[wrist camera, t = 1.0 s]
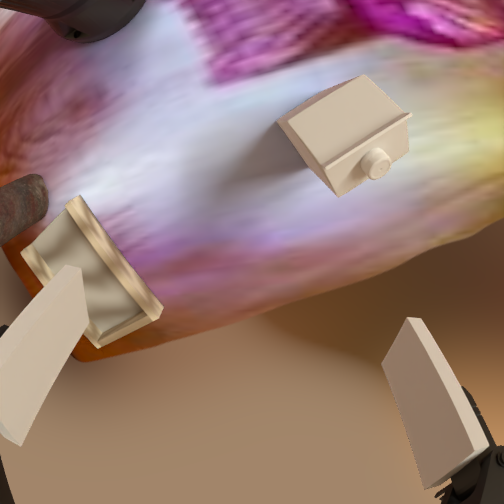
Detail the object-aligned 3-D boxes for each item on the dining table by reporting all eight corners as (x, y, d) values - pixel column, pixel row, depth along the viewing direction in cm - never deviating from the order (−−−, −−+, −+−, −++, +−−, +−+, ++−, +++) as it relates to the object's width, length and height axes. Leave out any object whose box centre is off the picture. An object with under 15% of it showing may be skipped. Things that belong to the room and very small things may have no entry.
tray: (30, 245, 42) (20, 253, 39) (80, 194, 38) (69, 200, 35) (103, 338, 49) (97, 348, 46) (163, 306, 45) (158, 318, 43)
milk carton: (275, 120, 34) (292, 121, 17) (323, 89, 32) (383, 66, 15) (308, 167, 36) (353, 214, 19) (355, 137, 35) (434, 160, 17)
